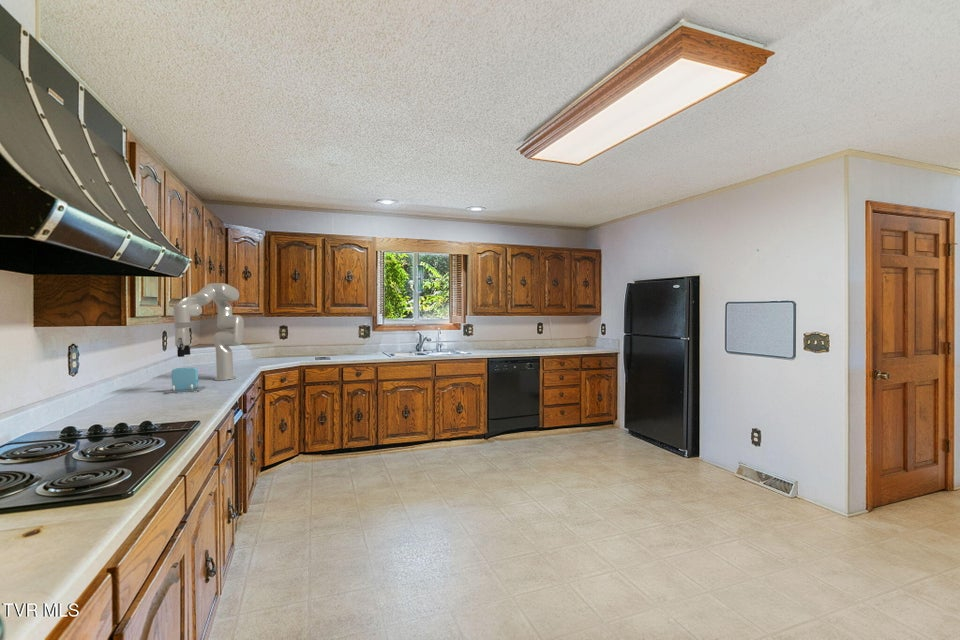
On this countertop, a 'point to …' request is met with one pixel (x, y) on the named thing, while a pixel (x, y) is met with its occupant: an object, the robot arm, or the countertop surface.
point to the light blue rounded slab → (185, 378)
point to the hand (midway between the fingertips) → (184, 355)
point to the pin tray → (185, 390)
